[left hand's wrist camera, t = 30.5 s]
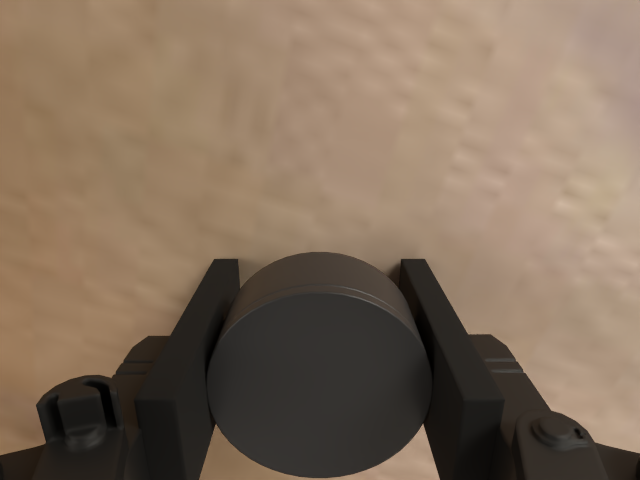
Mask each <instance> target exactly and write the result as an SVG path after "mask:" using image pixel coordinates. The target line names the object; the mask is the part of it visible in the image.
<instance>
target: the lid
mask: <svg viewBox="0 0 640 480" xmlns="http://www.w3.org/2000/svg"><path fill="white" fill-rule="evenodd" d="M432 390H433V374H432V369H431V364H430V361H429V358H428V355H427V353H426V350H425V348H424V345H423V342H422V340H421V337H420V334H419V332H418V329H417V327H416V324H415V321H414V319H413V316H412V313H411V311H410V308H409V306H408V303H407V301H406V299H405V298H404V296H403V294H402V292H401V291H400V290H399V289H398V287H397V286H396V285H395V284H394V283H393V282H392V281H391V280H390V279H389V278H388V277H387V276H386V275H385V274H384V273H382V272H381V271H379V270H378V269H377V268H375V267H373V266H372V265H370V264H368V263H366V262H364V261H361V260H359V259H356V258H354V257H351V256H346V255H342V254H337V253H329V252H310V253H302V254H297V255H293V256H289V257H285V258H283V259H280V260H278V261H275V262H273V263H271V264H269V265H268V266H266V267H264V268H262V269H261V270H260V271H258V272H257V273H256V274H254V275H253V276H252V277H251V278H250V279H249V280H248V281H247V282H246V283H245V284H244V285H243V286H242V288H241V289H240V290H239V291H238V293H237V294H236V296H235V298H234V300H233V301H232V303H231V306H230V309H229V311H228V314H227V316H226V319H225V322H224V324H223V327H222V329H221V332H220V335H219V337H218V340H217V342H216V345H215V348H214V350H213V353H212V355H211V358H210V361H209V364H208V369H207V373H206V391H207V400H208V404H209V408H210V411H211V414H212V416H213V418H214V420H215V422H216V424H217V426H218V427H219V429H220V430H221V432H222V433H223V435H224V436H225V437H226V438H227V439H228V441H229V442H230V443H231V444H232V445H233V446H234V447H236V448H237V449H238V450H239V451H240V452H241V453H243V454H244V455H246V456H247V457H248V458H250V459H251V460H253V461H255V462H257V463H259V464H260V465H262V466H265V467H267V468H270V469H272V470H275V471H278V472H281V473H284V474H288V475H293V476H298V477H308V478H331V477H341V476H346V475H351V474H355V473H358V472H361V471H364V470H367V469H370V468H372V467H374V466H377V465H379V464H380V463H382V462H384V461H386V460H388V459H389V458H391V457H392V456H394V455H395V454H396V453H398V452H399V451H400V450H401V449H402V448H404V447H405V446H406V445H407V444H408V443H409V442H410V441H411V439H412V438H413V437H414V436H415V435H416V433H417V432H418V431H419V429H420V427H421V426H422V424H423V423H424V420H425V418H426V416H427V414H428V411H429V408H430V404H431V399H432Z"/></svg>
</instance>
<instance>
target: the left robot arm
mask: <svg viewBox="0 0 640 480" xmlns="http://www.w3.org/2000/svg"><path fill="white" fill-rule="evenodd" d="M239 290H240V282H239V268H238V259H214V260H213V262H212V264H211V266H210V267H209V269H208V271H207V273H206V274H205V276H204V278H203V280H202V281H201V283H200V285H199V287H198V288H197V290H196V292H195V294H194V295H193V297H192V299H191V300H190V302H189V304H188V306H187V307H186V309H185V311H184V313H183V314H182V316H181V318H180V320H179V321H178V323H177V325H176V327H175V328H174V330H173V332H172V334H171V335H170V336H148V337H146V338H145V339H144V340H142V341H141V342H139V343H138V344H137V345H135V346H134V347H133V348H132V349H131V351H130V352H129V353H128V355H127V356H126V358H125V359H124V362H123V363H122V364H121V365H120V367H119V368H118V369H117V371H116V375H113V377H112V378H110V377H106V376H102V375H86V376H81V377H77V378H74V379H70V380H68V381H66V382H63V383H61V384H59V385H57V386H55V387H54V388H52V389H51V390H50V391H48V392H47V393H46V394H44V395H43V396H42V398H41V399H40V400H39V402H38V403H37V404H36V407H37V411H38V414H39V418H40V422H41V425H42V429H43V432H44V436H45V440H46V443H45V444H44V445H41V446H37V447H34V448H30V449H26V450H21V451H17V452H13V453H8V454H4V455H0V480H199V477H200V474H201V471H202V467H203V464H204V461H205V457H206V454H207V451H208V447H209V444H210V441H211V437H212V434H213V431H214V427H215V424H216V422H215V420H214V418H213V416H212V414H211V411H210V408H209V404H208V400H207V391H206V373H207V369H208V364H209V361H210V358H211V355H212V353H213V350H214V348H215V345H216V342H217V340H218V337H219V335H220V332H221V329H222V327H223V324H224V322H225V319H226V316H227V314H228V311H229V309H230V306H231V303H232V301H233V300H234V298H235V296H236V294H237V293H238V291H239ZM399 290H400V291H401V292H402V294H403V296H404V298H405V299H406V301H407V303H408V306H409V308H410V311H411V313H412V316H413V319H414V321H415V324H416V327H417V329H418V332H419V334H420V337H421V340H422V342H423V345H424V348H425V350H426V353H427V355H428V358H429V361H430V364H431V369H432V374H433V390H432V399H431V404H430V408H429V411H428V414H427V416H426V418H425V420H424V423H423V424H424V427H425V431H426V434H427V437H428V441H429V444H430V448H431V451H432V454H433V458H434V461H435V464H436V468H437V471H438V474H439V478H440V480H640V454H639V453H635V452H631V451H626V450H622V449H618V448H614V447H609V446H605V445H602V444H598V443H595V442H594V441H593V439H592V437H591V436H590V434H589V433H588V431H587V430H586V429H585V428H583V427H582V426H581V425H580V424H579V423H577V422H576V421H575V420H573V419H571V418H569V417H567V416H565V415H563V414H561V413H557V412H554V411H551V410H550V408H549V407H548V405H547V404H546V402H545V401H544V400H543V398H542V397H541V395H540V394H539V392H538V391H537V389H536V388H535V387H534V385H533V384H532V382H531V381H530V379H529V378H528V376H527V375H526V373H523V369H522V368H521V366H520V365H519V363H518V362H516V359H515V358H514V356H513V355H512V353H511V352H510V350H509V349H508V347H507V346H506V345H505V344H503V343H502V342H500V341H499V340H498V339H496V338H495V337H493V336H492V335H491V334H486V335H468V334H467V332H466V330H465V329H464V327H463V325H462V323H461V322H460V320H459V318H458V316H457V315H456V313H455V311H454V309H453V308H452V306H451V304H450V302H449V301H448V299H447V297H446V295H445V294H444V292H443V290H442V288H441V287H440V285H439V283H438V281H437V280H436V278H435V276H434V274H433V273H432V271H431V269H430V267H429V266H428V264H427V262H426V260H425V259H401V268H400V283H399Z"/></svg>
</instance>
